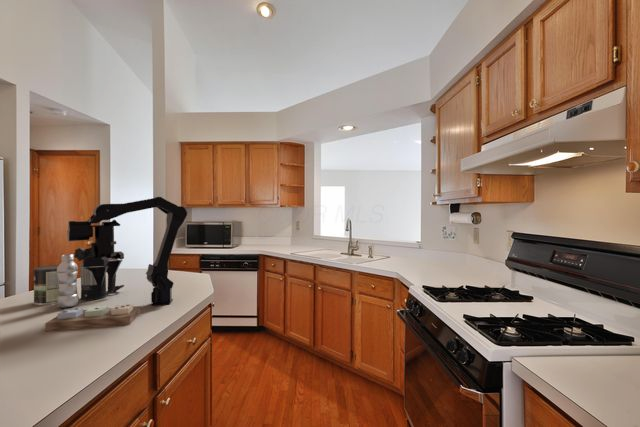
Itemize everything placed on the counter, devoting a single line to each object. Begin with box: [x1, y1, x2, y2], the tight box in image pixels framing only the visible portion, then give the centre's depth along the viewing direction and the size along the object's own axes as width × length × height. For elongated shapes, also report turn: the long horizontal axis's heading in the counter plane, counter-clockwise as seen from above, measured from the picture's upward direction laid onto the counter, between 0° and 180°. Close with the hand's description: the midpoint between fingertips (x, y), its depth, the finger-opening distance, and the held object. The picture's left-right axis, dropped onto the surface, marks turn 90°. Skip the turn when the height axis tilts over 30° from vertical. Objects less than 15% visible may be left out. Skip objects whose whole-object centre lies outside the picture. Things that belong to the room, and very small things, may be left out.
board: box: [44, 305, 142, 332], centre depth 105 cm, size 23×12×2 cm, turn 105°
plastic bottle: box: [56, 253, 80, 309], centre depth 121 cm, size 6×7×20 cm
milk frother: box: [79, 263, 125, 301], centre depth 138 cm, size 14×16×15 cm
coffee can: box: [32, 264, 60, 306], centre depth 129 cm, size 10×10×14 cm
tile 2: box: [56, 307, 84, 319], centre depth 103 cm, size 5×5×2 cm
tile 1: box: [85, 305, 110, 317], centre depth 105 cm, size 5×5×2 cm
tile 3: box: [111, 303, 134, 315], centre depth 106 cm, size 5×5×2 cm
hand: (105, 282), depth 113 cm, fingers open, 9 cm apart
